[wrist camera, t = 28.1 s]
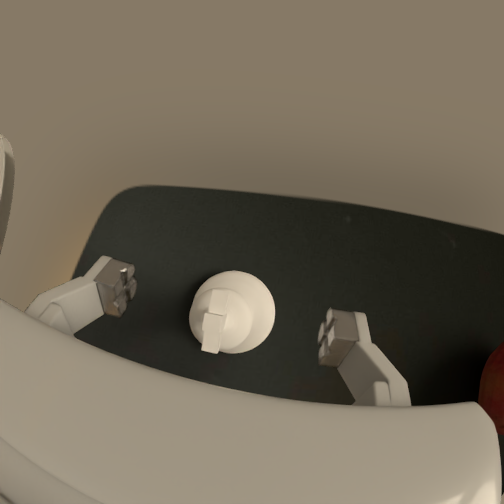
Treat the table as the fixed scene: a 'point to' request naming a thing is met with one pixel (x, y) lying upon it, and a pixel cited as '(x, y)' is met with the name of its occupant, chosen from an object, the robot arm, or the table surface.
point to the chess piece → (232, 313)
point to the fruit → (493, 388)
